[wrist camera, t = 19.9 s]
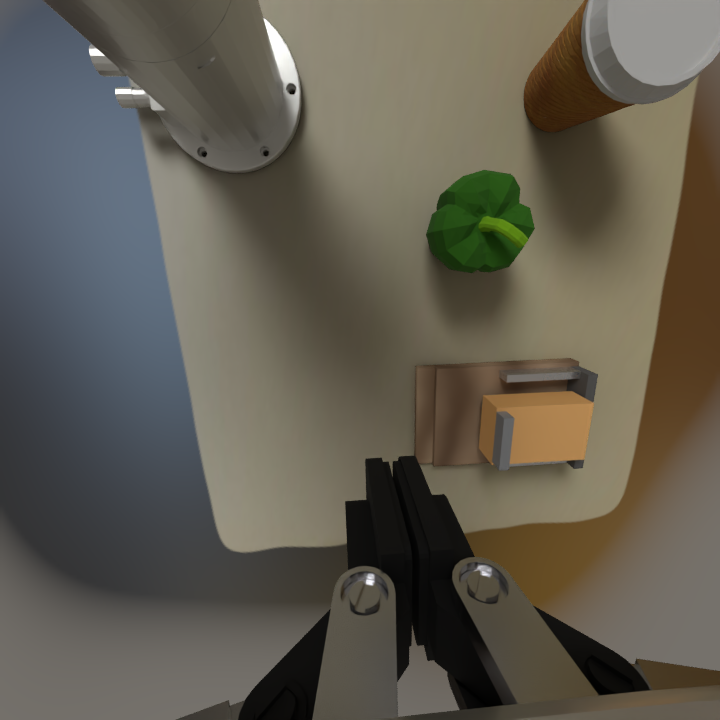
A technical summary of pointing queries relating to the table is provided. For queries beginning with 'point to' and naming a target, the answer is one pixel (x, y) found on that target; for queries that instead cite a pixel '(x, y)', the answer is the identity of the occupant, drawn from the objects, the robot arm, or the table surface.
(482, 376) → the loading dock
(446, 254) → the bell pepper
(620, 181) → the table surface
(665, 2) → the disposable coffee cup
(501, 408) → the orange block
